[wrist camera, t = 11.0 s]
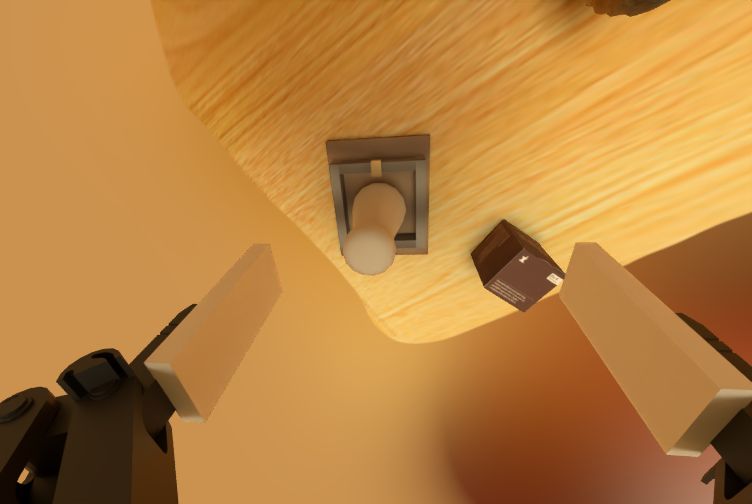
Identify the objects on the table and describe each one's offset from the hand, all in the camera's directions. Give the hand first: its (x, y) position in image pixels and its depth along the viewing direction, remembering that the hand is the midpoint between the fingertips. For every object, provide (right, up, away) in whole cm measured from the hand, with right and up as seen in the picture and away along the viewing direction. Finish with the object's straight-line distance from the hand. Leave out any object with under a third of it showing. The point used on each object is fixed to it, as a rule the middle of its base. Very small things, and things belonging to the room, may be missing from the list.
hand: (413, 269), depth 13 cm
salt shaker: (-1, +7, +21) cm, 22 cm away
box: (+14, +1, +24) cm, 28 cm away
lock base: (-1, +7, +22) cm, 23 cm away
